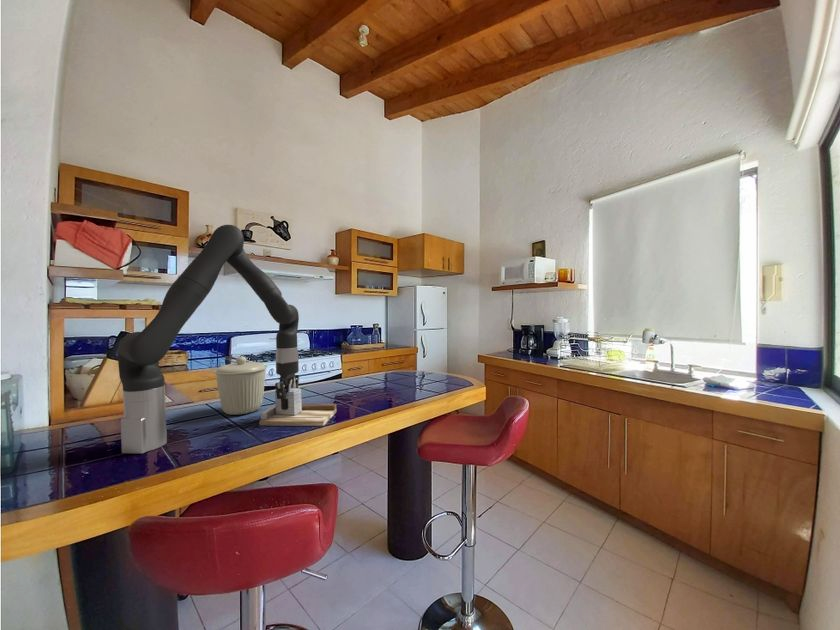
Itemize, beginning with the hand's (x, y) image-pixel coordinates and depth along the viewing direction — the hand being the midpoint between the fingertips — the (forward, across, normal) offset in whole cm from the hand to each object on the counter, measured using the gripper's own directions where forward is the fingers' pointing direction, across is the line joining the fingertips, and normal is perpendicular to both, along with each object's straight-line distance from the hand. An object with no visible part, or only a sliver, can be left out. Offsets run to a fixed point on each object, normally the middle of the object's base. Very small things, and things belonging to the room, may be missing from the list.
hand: (288, 406), depth 117 cm
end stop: (+2, +2, -5) cm, 6 cm away
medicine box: (+3, 0, 0) cm, 3 cm away
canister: (+4, -7, -21) cm, 23 cm away
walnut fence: (+2, -5, +5) cm, 7 cm away
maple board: (+4, +1, +5) cm, 6 cm away
